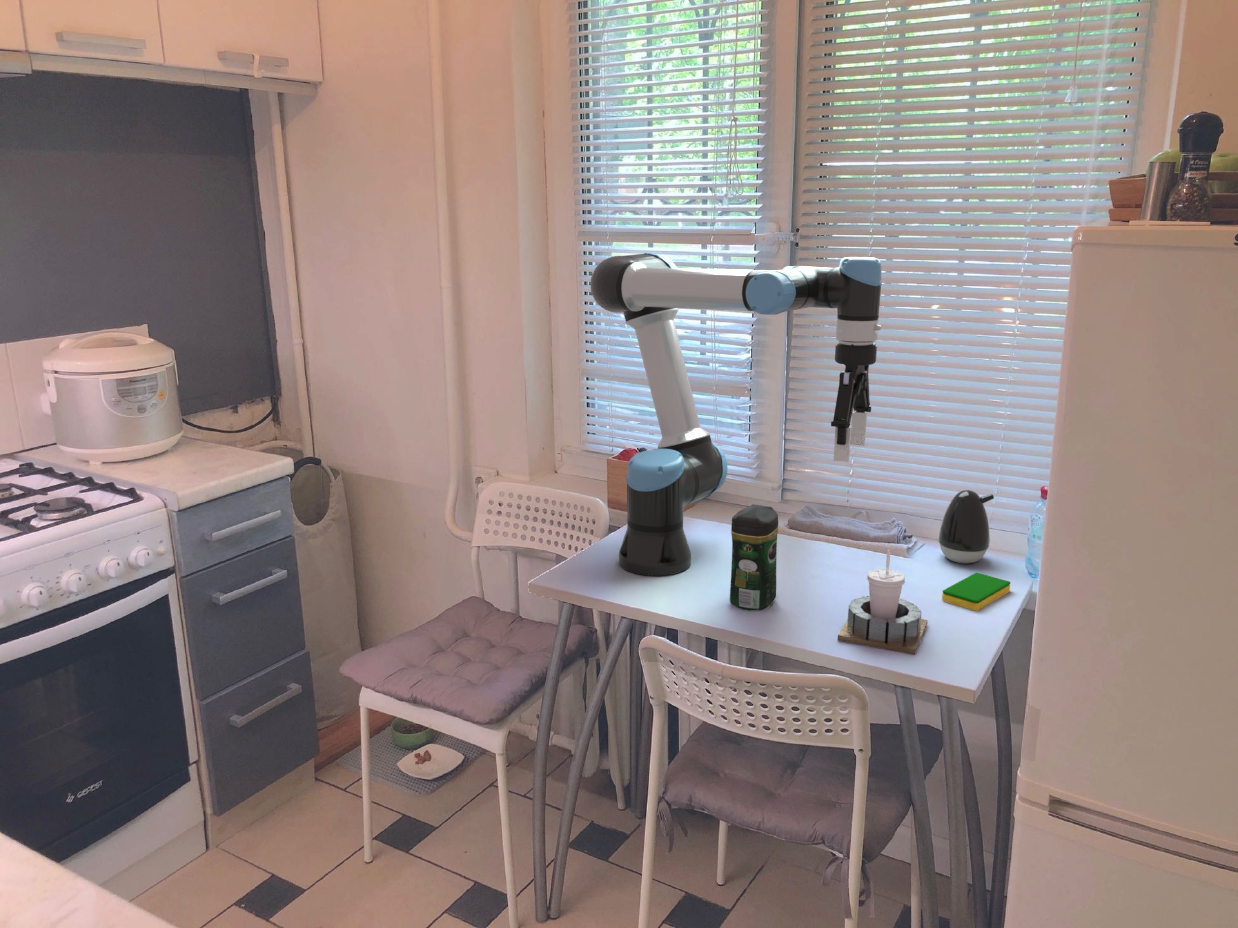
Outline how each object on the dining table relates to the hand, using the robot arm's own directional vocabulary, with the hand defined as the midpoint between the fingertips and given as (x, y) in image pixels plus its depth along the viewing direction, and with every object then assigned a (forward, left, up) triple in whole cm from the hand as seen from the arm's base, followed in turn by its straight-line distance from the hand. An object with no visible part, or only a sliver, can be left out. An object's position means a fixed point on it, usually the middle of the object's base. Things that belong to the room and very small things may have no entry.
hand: (849, 452), depth 185 cm
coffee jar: (-13, -17, -27) cm, 34 cm away
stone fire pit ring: (+12, -20, -27) cm, 35 cm away
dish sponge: (+25, +5, -27) cm, 37 cm away
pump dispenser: (+20, +24, -27) cm, 41 cm away
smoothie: (+12, -20, -26) cm, 35 cm away
